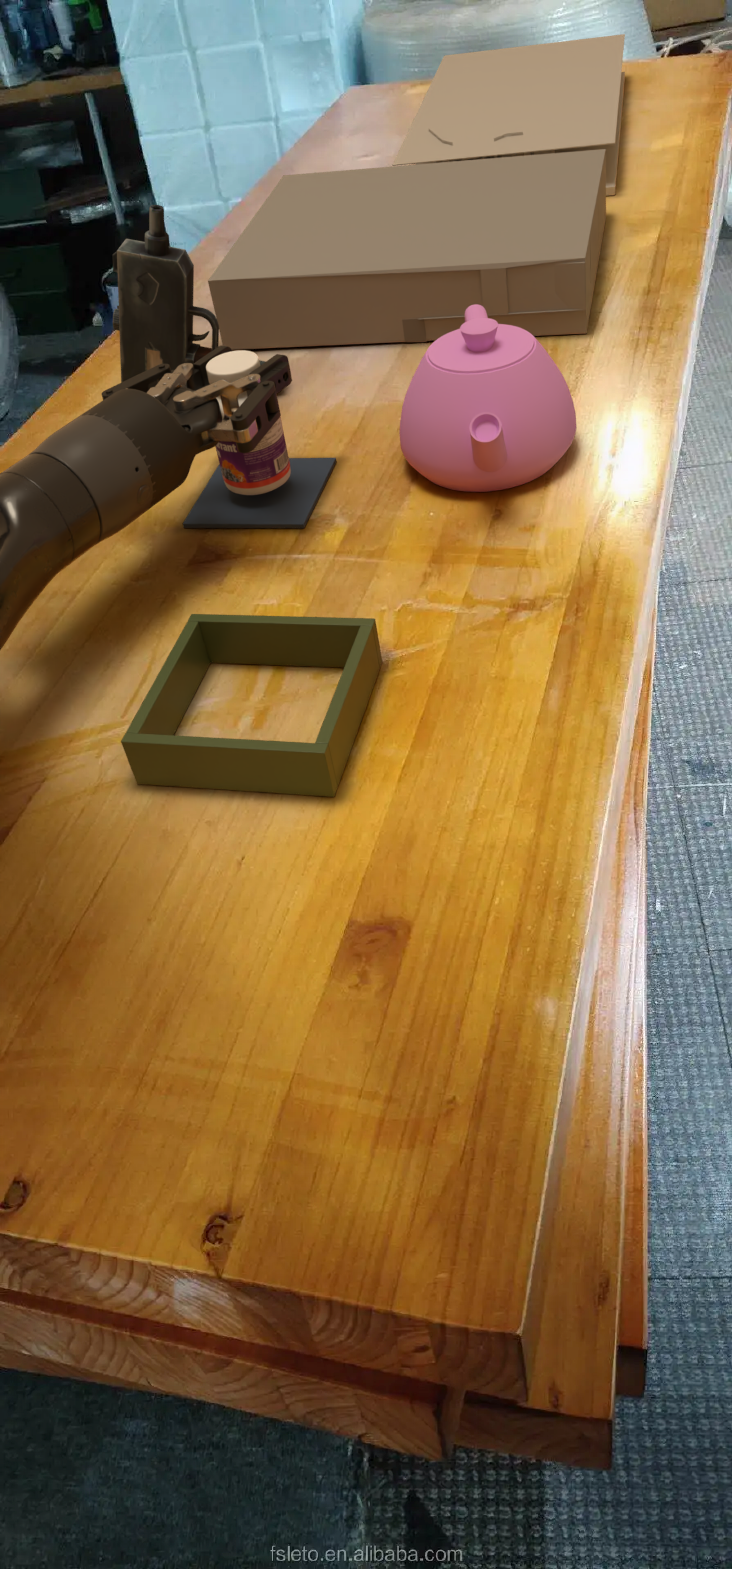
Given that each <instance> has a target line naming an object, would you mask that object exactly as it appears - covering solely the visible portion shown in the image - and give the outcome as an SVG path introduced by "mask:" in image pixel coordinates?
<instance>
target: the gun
mask: <svg viewBox="0 0 732 1569" xmlns="http://www.w3.org/2000/svg"><path fill="white" fill-rule="evenodd" d="M148 215H149V217H148V218H149V219H148V222H149V224H148V226H149V228H148V229H149V230H147V231H145V233H144V241H142V240H137V239H136V240H135V239H130V238H125V239H124V241H123V242H122V243H121V245H120V246H119V247H118V249H117V250H116V251H115V252H114V253H113V254H112V271H113V272H114V273H117V294H118V296H117V297H118V298H117V300H118V305H116V308H114V310H113V312H112V328H113V330H114V331H119V358H120V383H122V382H124V381H126V380H128V379H130V378H132V377H134V376H136V375H138V374H140V373H142V372H145V371H147V370H149V369H151V368H153V367H155V366H157V365H160V364H169V365H170V369H171V370H175V369H176V368H177V367H178V366H179V365H181V364H184V363H191V364H194V363H195V362H197V361H198V360H200V359H201V358H203V357H204V356H205V355H207V354H208V353H210V352H211V351H213V350H214V349H216V348H217V347H219V342H220V341H219V339H220V331H219V324H218V321H217V318H216V314H214V313H213V311H211V310H209V309H208V308H205V307H200V306H195V305H194V283H195V282H194V279H195V278H194V277H195V276H194V275H195V266H194V263H193V261H192V259H191V257H190V256H189V253H188V251H187V250H186V249H185V248H180V247H174V246H170V235H169V233H167V232H166V231H165V208H164V207H163V205H161V204H160V205H159V204H151V205H150V206H149V209H148ZM194 316H195V317H199V318H200V317H201V318H203V319H205V320H206V322H208V323H209V325H210V327H211V347H207V346H202V345H201V344H199V343H194V342H200V341H203V340H205V339H206V338H207V337H208V336H209V334H210V330H208V331H206V332H205V333H201V334H195V333H194ZM259 361H260V365H262V364H263V363H265V362H266V361H267V360H266V361H265V360H261V359H259ZM157 384H158V381H157V380H156V381H154V382H152V383H150V384H149V386H148V389H150V388H151V387H155V386H156V385H157Z"/></svg>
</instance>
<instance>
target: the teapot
mask: <svg viewBox="0 0 732 1569" xmlns="http://www.w3.org/2000/svg"><path fill="white" fill-rule="evenodd" d="M576 413H577V412H576V408H575V404H574V401H573V397H572V393H571V391H570V387H569V385H568V383H567V381H566V379H565V377H564V375H563V373H562V372H561V370H560V369H559V367H558V365H557V363H556V362H555V361H554V359H553V358H552V357H551V355H550V354H549V353H548V351H547V349H545V347H544V346H543V345H542V343H541V342H540V341H539V340H538V339H537V338H536V336H533V335H532V334H531V333H529V332H528V331H526V330H524V329H522V328H519V327H516V326H512V325H506V324H498V323H497V321H495V320H493V319H490V318H488V317H487V313H486V310H485V308H484V307H483V306H481V305H478V304H475V305H471V306H469V307H468V308H467V309H466V311H465V323H463V324H462V325H461V327H460V329H457V330H455V331H452V332H449V333H447V334H445V335H443V336H441V337H440V338H438V339H437V340H433V342H432V343H431V344H430V345H429V346H428V348H427V349H426V351H425V352H424V354H423V356H422V358H421V359H420V361H419V363H418V365H417V367H416V370H415V371H414V374H413V375H412V377H411V380H410V382H409V385H408V388H407V390H406V392H405V395H404V399H403V403H402V406H401V413H400V421H399V431H398V432H399V444H400V450H401V452H402V455H403V456H404V458H405V460H406V461H407V463H408V464H409V466H411V467H412V468H413V469H414V470H415V471H417V472H418V473H419V474H420V475H421V476H423V477H424V478H426V479H427V480H428V481H429V482H431V483H433V484H435V485H437V486H439V487H441V488H442V487H443V488H445V489H447V490H453V491H458V492H468V493H469V492H470V493H485V492H494V491H495V492H496V491H502V490H508V489H511V488H515V487H518V486H519V487H520V486H522V485H525V484H527V483H530V482H532V481H534V480H536V479H538V478H540V477H541V476H543V475H544V474H546V473H547V472H549V471H550V470H551V469H552V468H553V467H554V466H555V465H556V463H558V462H559V461H560V460H561V459H562V457H563V456H564V455H565V454H566V453H567V451H568V450H569V448H570V447H571V446H572V443H573V441H574V439H575V436H576V434H577V418H576V417H577V414H576Z"/></svg>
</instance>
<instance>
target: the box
mask: <svg viewBox="0 0 732 1569" xmlns="http://www.w3.org/2000/svg"><path fill="white" fill-rule="evenodd" d="M606 220H607V196H606V149H600V150H588V151H575V152H563V153H551V154H539V155H526V156H514V157H502V158H490V159H477V160H465V161H453V162H441V163H429V164H407V165H397V166H392V165H391V166H383V167H382V166H381V167H380V166H379V167H369V168H356V169H345V170H344V169H343V170H331V171H319V172H309V173H295V174H284V175H282V177H281V178H280V179H279V181H278V182H277V184H276V185H275V187H274V188H273V189H272V191H271V192H269V195H268V196H267V197H266V199H265V200H264V202H263V203H262V205H261V206H260V207H259V208H258V210H257V211H256V212H255V214H254V216H253V217H252V218H251V220H250V221H249V222H248V224H247V225H246V226H245V228H244V230H243V231H242V232H241V234H240V235H239V236H238V238H237V239H236V240H235V242H234V244H233V245H232V246H231V248H230V249H229V250H228V252H227V253H226V254H225V255H224V258H223V259H222V260H221V262H220V263H219V264H218V265H217V267H216V269H215V270H214V271H213V273H212V274H211V275H210V277H209V278H208V279H207V284H208V287H209V293H210V297H211V300H212V305H213V309H214V313H215V314H214V315H215V317H216V318H217V321H218V324H219V337H220V340H221V344H222V346H228V347H230V348H231V350H232V351H236V350H254V349H255V350H257V349H276V348H277V349H279V348H297V347H299V348H300V347H321V346H340V345H341V346H342V345H343V346H344V345H360V344H361V345H363V344H364V345H365V344H385V343H406V344H407V343H427V342H430V341H436V340H437V339H438V338H440V337H441V336H443V335H445V334H447V333H449V332H452V331H455V330H457V329H460V327H461V325H462V324H463V323H465V311H466V309H467V308H468V307H469V306H471V305H475V304H478V305H481V306H483V307H484V308H485V310H486V313H487V317H488V318H490V319H493V320H495V321H497V323H498V324H506V325H512V326H516V327H519V328H522V329H524V330H526V331H528V332H529V333H531V334H532V335H533V336H534V337H536V336H537V337H539V336H540V337H541V336H560V335H561V336H562V335H582V334H584V335H585V334H588V327H589V322H590V316H591V309H592V304H593V297H594V293H595V292H594V291H595V285H596V279H597V273H598V268H599V261H600V255H601V250H602V244H603V239H604V231H605V225H606Z"/></svg>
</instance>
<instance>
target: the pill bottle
mask: <svg viewBox="0 0 732 1569" xmlns="http://www.w3.org/2000/svg"><path fill="white" fill-rule="evenodd" d="M259 360H260V358H259V355H258V354H257V353H255V352H254V351H251V350H246V349H237V350H232V351H231V352H227V353H223V354H220V355H218V356H216V357H214V358H213V359H211V360H210V361H209V362H208V363H207V365H206V371H207V375H208V380H209V383H210V384H212V383H214V382H217V381H219V380H225V381H227V382H229V383H231V382H233V381H236V380H238V379H240V378H243V377H245V376H247V375H250V373H251V372H252V371H254V370H255V369H256V368H258V367H259V366H261V365H260V361H259ZM247 397H248V396H247V392H246V391H245V392H242V393H240V394H239V395H238V403H239V407H240V405H241V404H242V403H243V402H244V401H245V400H246V398H247ZM216 399H217V400H218V402H219V406H220V410H221V414H222V420H223V418H224V411H223V406H222V402H221V398H220V396H218V397H216ZM214 448H215V450H216V455H217V458H218V464H220V468H221V472H222V476H223V479H224V482H225V485H226V487H227V488H228V489H229V490H231V491H232V492H234V493H237V494H241V495H258V494H263V493H267V492H269V491H272V490H274V489H276V488H278V487H280V486H281V485H283V484H284V483H285V482H286V481H287V480H288V478H289V477H290V473H291V469H290V462H289V458H290V457H289V452H288V448H287V443H286V438H285V432H284V428H283V422H282V417H281V416H280V417H279V419H278V420H277V421H276V422H275V424H274V425H273V426H272V427H271V429H270V430H269V431H268V432H267V434H266V435H265V436H264V437H263V439H262V440H261V441H260V442H259V444H258V445H257V446H256V447H255V449H254V450H252V451H251V452H248V453H240V452H238V449H237V445H236V442H230V441H219V442H218V444H217V445H216V446H215V447H214Z"/></svg>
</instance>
